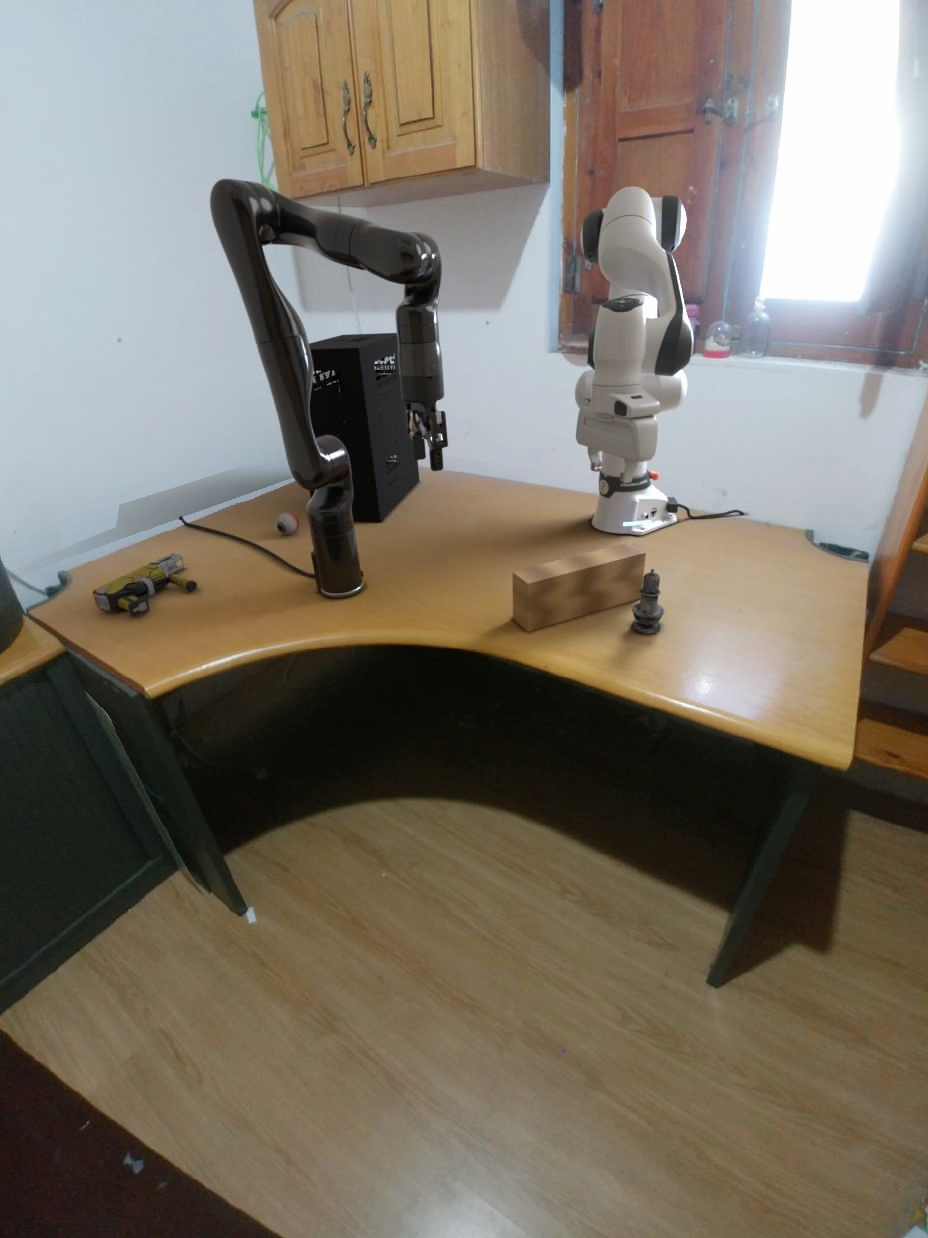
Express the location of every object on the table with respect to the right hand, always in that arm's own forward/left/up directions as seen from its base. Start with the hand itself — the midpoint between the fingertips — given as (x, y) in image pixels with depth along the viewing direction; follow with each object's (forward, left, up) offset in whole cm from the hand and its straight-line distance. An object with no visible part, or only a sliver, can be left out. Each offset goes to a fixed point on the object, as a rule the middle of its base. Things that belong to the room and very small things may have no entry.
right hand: (610, 476), depth 115 cm
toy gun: (+86, -49, -25) cm, 102 cm away
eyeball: (+53, -70, -25) cm, 91 cm away
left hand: (+33, -12, +5) cm, 35 cm away
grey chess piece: (+2, +16, -25) cm, 30 cm away
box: (+9, +4, -25) cm, 26 cm away
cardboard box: (+25, -86, -25) cm, 93 cm away
